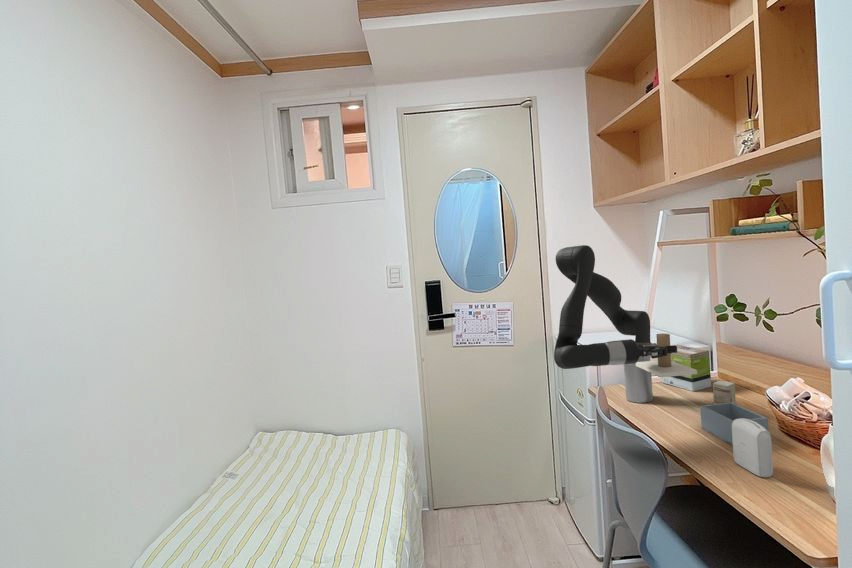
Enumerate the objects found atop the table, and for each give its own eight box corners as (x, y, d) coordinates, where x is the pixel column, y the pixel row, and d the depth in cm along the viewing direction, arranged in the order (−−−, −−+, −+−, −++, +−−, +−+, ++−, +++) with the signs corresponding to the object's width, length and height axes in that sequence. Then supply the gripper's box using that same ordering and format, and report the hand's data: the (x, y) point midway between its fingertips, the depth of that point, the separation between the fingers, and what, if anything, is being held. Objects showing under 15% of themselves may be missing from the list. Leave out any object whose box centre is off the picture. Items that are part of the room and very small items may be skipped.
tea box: (661, 383, 201) (658, 347, 200) (679, 379, 204) (677, 343, 203) (693, 392, 186) (690, 353, 186) (712, 387, 190) (710, 349, 189)
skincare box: (713, 412, 164) (711, 382, 164) (721, 409, 166) (719, 379, 166) (729, 416, 160) (727, 385, 159) (737, 412, 162) (735, 382, 161)
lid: (635, 365, 163) (633, 332, 163) (668, 362, 164) (666, 329, 163) (661, 377, 147) (659, 340, 147) (697, 373, 148) (695, 336, 147)
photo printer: (730, 461, 129) (728, 415, 128) (746, 459, 129) (744, 413, 129) (759, 479, 119) (756, 429, 118) (776, 477, 119) (774, 427, 118)
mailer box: (701, 428, 152) (700, 405, 152) (732, 424, 153) (731, 402, 152) (734, 446, 137) (733, 422, 137) (769, 442, 138) (767, 418, 137)
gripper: (629, 344, 147) (685, 339, 148) (609, 337, 161) (660, 332, 162) (630, 369, 148) (686, 364, 149) (610, 359, 162) (661, 355, 163)
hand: (672, 347), depth 155 cm, fingers closed on lid, 3 cm apart
